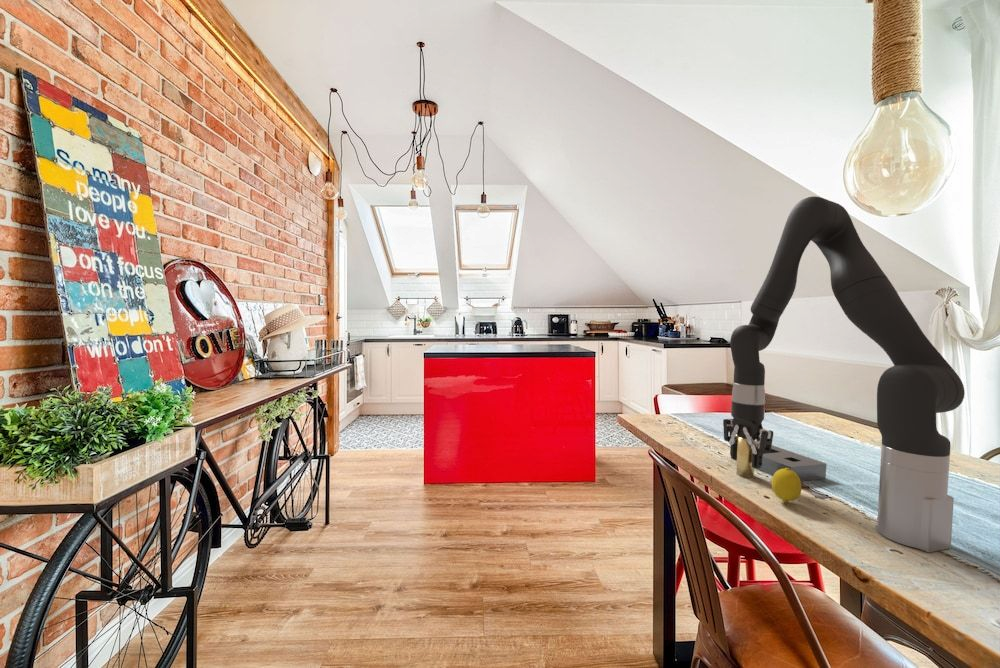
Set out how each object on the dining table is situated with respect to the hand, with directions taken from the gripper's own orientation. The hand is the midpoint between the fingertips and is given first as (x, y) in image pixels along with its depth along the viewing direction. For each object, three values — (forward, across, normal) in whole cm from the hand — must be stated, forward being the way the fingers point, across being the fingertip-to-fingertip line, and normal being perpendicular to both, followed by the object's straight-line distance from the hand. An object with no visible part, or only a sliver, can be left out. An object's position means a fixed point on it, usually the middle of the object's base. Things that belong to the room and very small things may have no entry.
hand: (745, 463), depth 112 cm
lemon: (+3, -16, +5) cm, 17 cm away
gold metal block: (+3, 0, 0) cm, 3 cm away
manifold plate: (+3, +2, -13) cm, 14 cm away
